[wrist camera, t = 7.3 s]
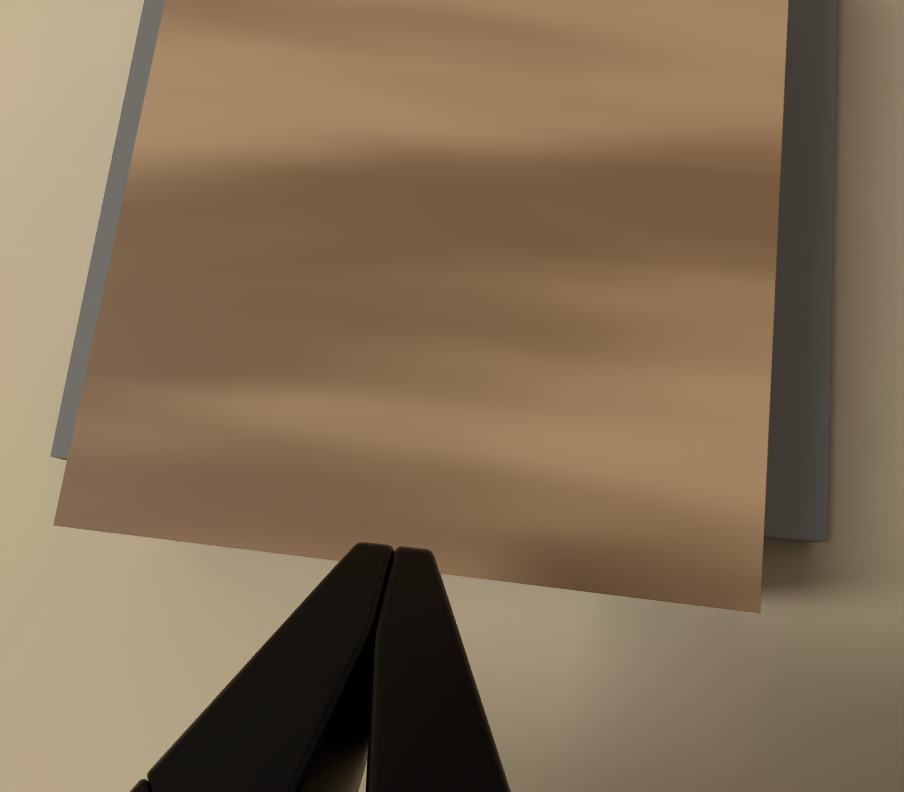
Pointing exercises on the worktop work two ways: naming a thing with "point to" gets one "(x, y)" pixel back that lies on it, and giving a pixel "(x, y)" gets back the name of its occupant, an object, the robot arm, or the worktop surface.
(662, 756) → the worktop surface
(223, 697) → the robot arm
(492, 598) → the worktop surface
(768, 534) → the mat
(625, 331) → the walnut slab
